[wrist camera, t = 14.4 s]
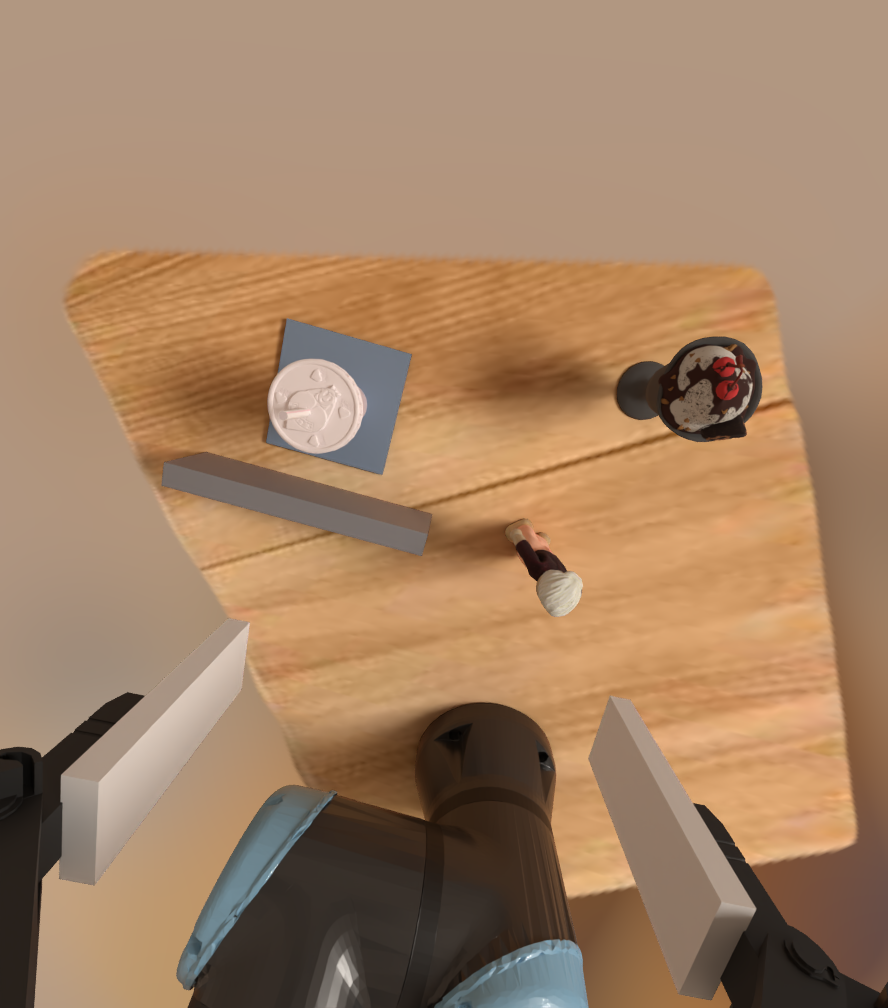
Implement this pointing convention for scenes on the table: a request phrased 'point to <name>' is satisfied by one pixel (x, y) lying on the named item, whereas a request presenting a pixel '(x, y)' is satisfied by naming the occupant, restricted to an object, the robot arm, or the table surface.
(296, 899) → the robot arm
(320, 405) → the smoothie
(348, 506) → the divider wall
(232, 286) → the table surface
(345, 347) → the mat
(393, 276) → the table surface
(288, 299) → the table surface
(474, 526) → the table surface
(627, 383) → the sundae
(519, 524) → the grandmother figurine
